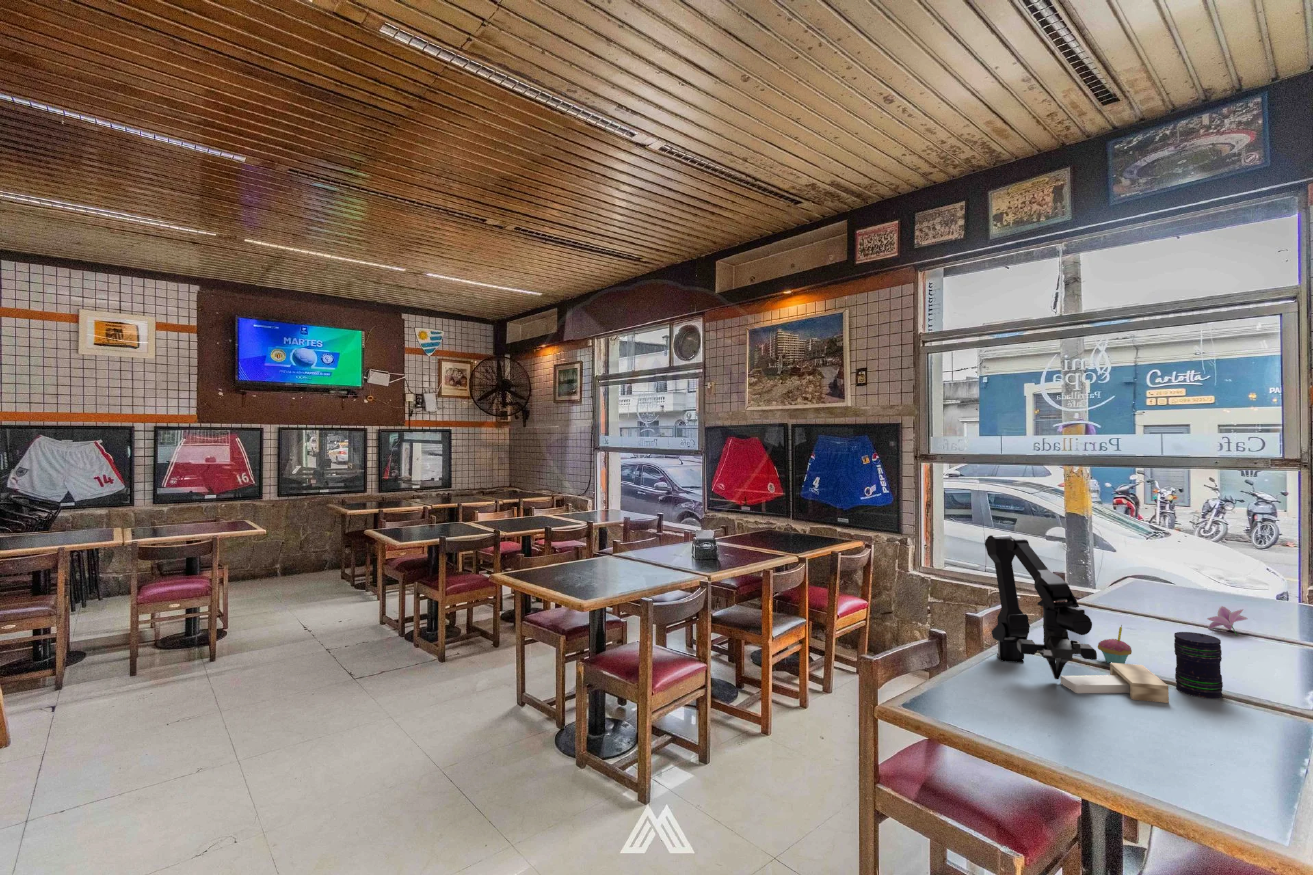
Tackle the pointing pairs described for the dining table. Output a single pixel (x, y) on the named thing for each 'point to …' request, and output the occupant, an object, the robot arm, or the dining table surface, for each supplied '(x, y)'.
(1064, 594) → the robot arm
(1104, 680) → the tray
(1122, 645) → the cupcake
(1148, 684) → the beige block
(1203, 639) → the black disc stack
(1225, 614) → the lily
